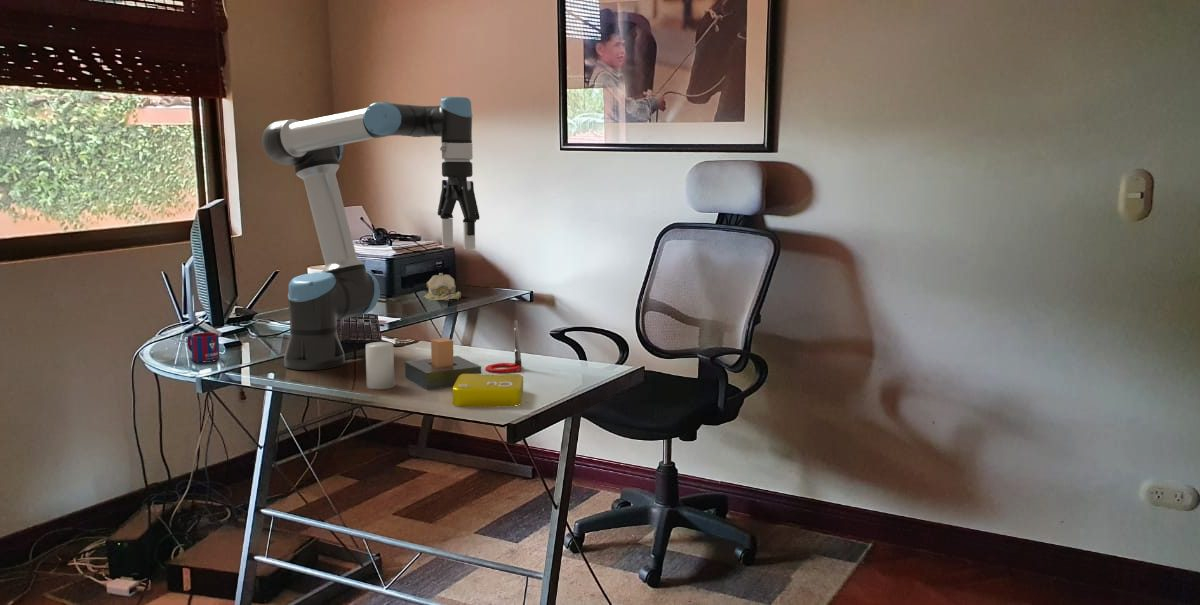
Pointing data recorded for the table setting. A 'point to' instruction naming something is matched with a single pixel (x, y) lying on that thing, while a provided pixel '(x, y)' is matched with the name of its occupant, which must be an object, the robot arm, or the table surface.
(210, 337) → the mug
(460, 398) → the element tile
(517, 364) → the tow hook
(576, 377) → the table surface
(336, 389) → the table surface
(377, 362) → the round peg
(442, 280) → the ceramic model
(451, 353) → the square peg
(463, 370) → the bore block
